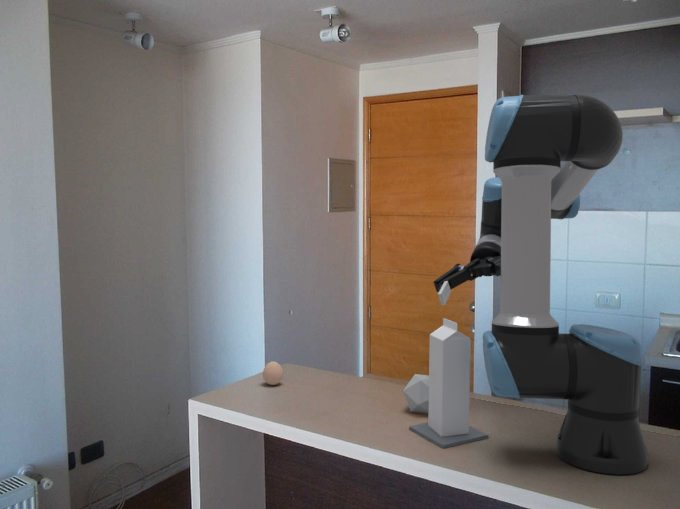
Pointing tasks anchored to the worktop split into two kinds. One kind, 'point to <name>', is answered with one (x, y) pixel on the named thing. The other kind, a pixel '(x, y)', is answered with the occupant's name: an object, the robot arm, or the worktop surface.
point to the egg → (272, 373)
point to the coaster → (448, 440)
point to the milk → (449, 380)
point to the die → (418, 394)
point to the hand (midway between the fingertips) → (472, 294)
